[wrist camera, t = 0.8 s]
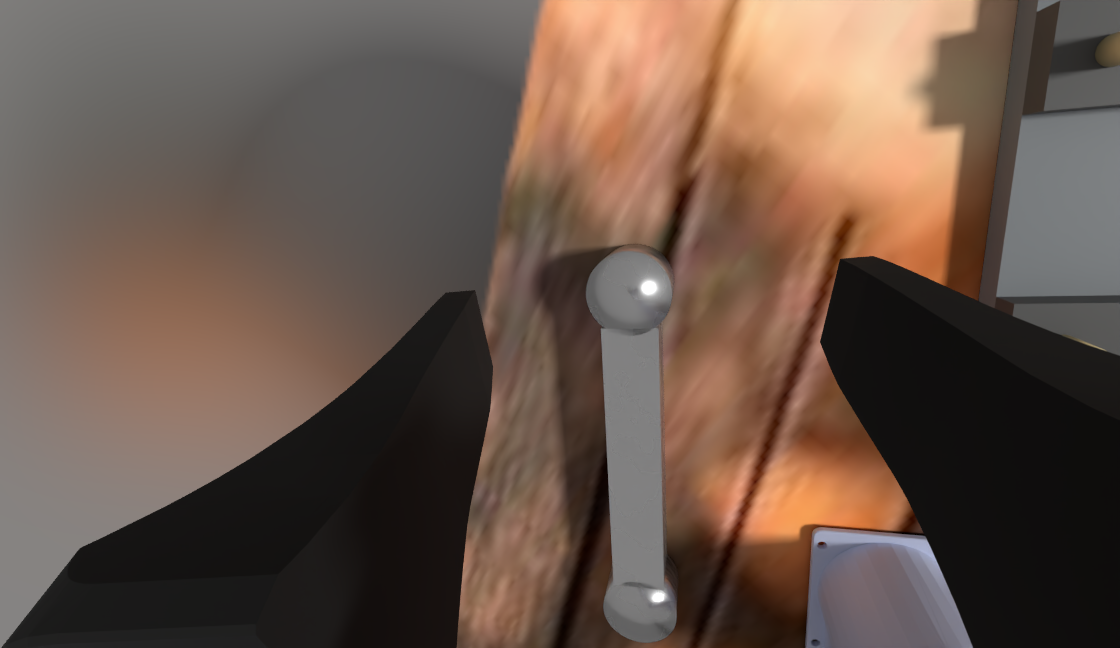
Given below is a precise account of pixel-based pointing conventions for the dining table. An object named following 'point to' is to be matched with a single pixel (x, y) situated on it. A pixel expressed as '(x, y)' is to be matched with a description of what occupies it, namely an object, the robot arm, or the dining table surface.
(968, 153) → the dining table surface
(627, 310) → the grey bar
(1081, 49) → the peg rack
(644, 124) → the dining table surface
